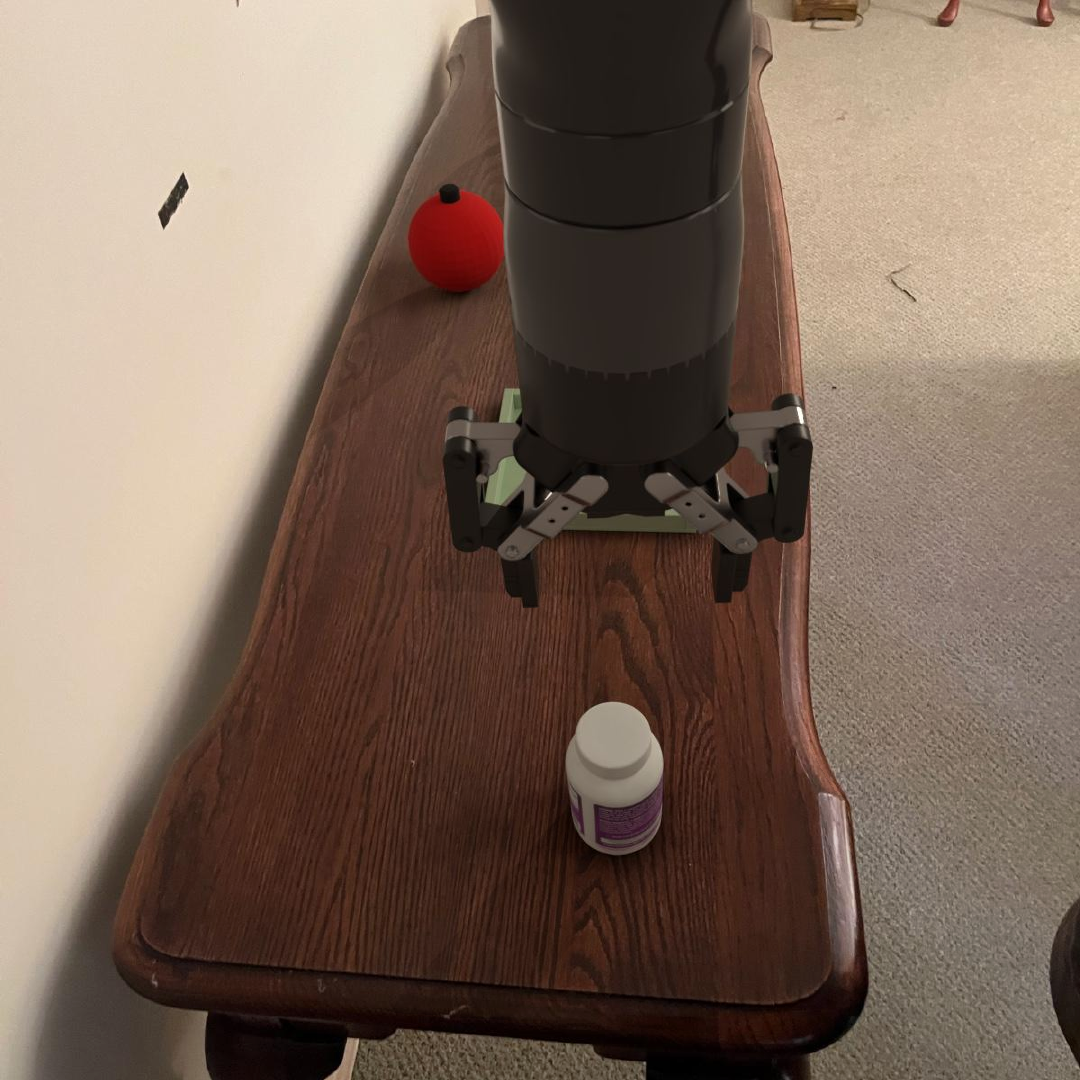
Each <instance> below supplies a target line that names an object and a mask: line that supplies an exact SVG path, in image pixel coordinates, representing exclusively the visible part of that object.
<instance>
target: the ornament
mask: <svg viewBox="0 0 1080 1080" xmlns="http://www.w3.org/2000/svg"><path fill="white" fill-rule="evenodd" d="M501 219H502V218H500V215H499V213H498V212H497V211H496V209H495V208H494V207H493V205H492V204H491V203H489V202H488V201H487V200H486V199H484V198H483V197H482V196H481V195H478V194H476V193H473V192H470V191H468V190H463V189H460V187H459V186H458V185H456V184H454V183H444V184H443V185H442V186H441V187H440V188H439V190H438V193H436V194H433V195H432V196H430V197H429V198H427V199H426V200H425V201H424V202H422V203H421V204H420V206H419V207H418V208H417V210H416V211H415V213H414V214H413V216H412V219H411V221H410V223H409V228H408V232H407V233H408V234H407V243H408V253H409V257H410V259H411V261H412V263H413V265H414V267H415V269H416V270H417V272H418V273H419V274H420V275H421V276H422V278H424V279H425V280H426V281H427V282H429V283H430V284H431V285H433V286H435V287H436V288H438V289H441V290H444V291H449V292H455V293H461V292H462V293H463V292H469V291H472V290H475V289H477V288H479V287H481V286H483V285H484V284H486V283H487V282H489V280H491V279H492V278H493V277H494V275H496V273H497V272H498V270H499V268H500V266H501V264H502V262H503V260H504V245H503V223H504V222H503V221H502V220H501Z"/></svg>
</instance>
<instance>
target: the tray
mask: <svg viewBox="0 0 1080 1080" xmlns="http://www.w3.org/2000/svg"><path fill="white" fill-rule="evenodd" d="M521 411H522V406H521V397H520V388H513V387H512V388H508V387H507V388H506V387H505V388H504V390H503V396H502V402H501V407H500V412H499V414H500V415H499V420H498V423H515V421H516V419H517V418H518V416H519V415H520V413H521ZM525 474H526V471H525V470H524V469H523V468H522V467H521V466H520V465H519V464H518V463H517V461H516V460H515V458H514V456H510V457H506V458H504V459H503V460H501V461H500V463H499V465H498V470H497V471H496V473H494V474H493V475H491V476H488V481H487V486H486V492H485V502H488V503H492V504H497V505H501V504H502V503H503V502H504V501H505V500H506V499H507V498H508V497H509V496H510V495H511V494H512V493H513V491H514V490H515V489H516V488H517V487H518V486H519V485H520V484H521V483H522V481H523V479H524V477H525ZM561 531H602V532H643V533H679V534H681V533H683V534H684V533H686V534H687V533H688V534H696V533H697V530H696V529H695V528H694V527H693V526H692V525H691V524H689V523H688V522H687V521H686V520H685V519H684V518H683V517H681V516H680V515H679V514H678V513H677V512H676V511H675V510H673V509H670V510H666V511H665V516H656V517H644V516H637V515H630V514H623V515H619V516H614V517H609V518H595V519H587V513H582V512H580V513H579V514H578V515H577V516H576V517H575V518H574V519H573V520H572V521H571V522H570V523H569V524H568V525H566V526H565V527H564V528H563V529H562V530H561Z"/></svg>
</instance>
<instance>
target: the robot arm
mask: <svg viewBox="0 0 1080 1080" xmlns="http://www.w3.org/2000/svg"><path fill="white" fill-rule="evenodd" d="M487 3H488V6H489V12H490V26H491V27H490V30H491V31H490V34H491V35H490V36H491V38H490V39H491V61H492V62H491V63H492V74H493V76H492V77H493V87H494V98H495V106H496V115H497V126H498V135H499V143H500V153H501V162H502V164H501V165H502V172H503V187H504V188H503V189H504V205H503V222H502V223H503V245H504V257H503V259H504V265H505V273H506V282H507V283H506V284H507V291H508V292H507V293H508V299H509V307H510V319H511V326H512V327H511V328H512V336H513V344H514V353H515V354H514V355H515V362H516V369H517V379H518V387H519V388H518V389H520V397H521V406H522V411H521V413H520V415H519V416H518V418H517V419H516V421H515V423H499V422H486V421H485V422H479V421H480V420H479V418H480V417H479V414H478V412H477V411H476V410H474V409H473V408H472V407H469V406H464V405H459V406H455V407H452V408H451V409H450V410H449V411H448V414H447V419H446V426H445V427H446V428H445V437H444V445H443V453H442V467H443V475H444V476H443V477H444V483H445V491H446V493H445V494H446V500H447V508H448V516H449V524H450V525H449V526H450V533H451V541H452V542H451V543H452V545H453V548H455V549H456V550H458V551H460V552H462V553H474V552H477V551H479V550H480V549H481V548H482V547H485V548H488V549H492V550H493V551H495V552H496V553H497V555H498V556H499V558H500V561H501V562H500V563H501V570H502V575H503V581H504V588H505V591H506V593H507V594H508V595H509V597H510V598H513V599H514V598H520V599H521V606H522V609H533V608H534V609H536V608H537V609H538V608H539V607H540V606H539V605H540V568H539V566H540V565H539V557H538V547H537V546H538V545H539V543H541V542H542V541H543V539H547V540H553V539H554V538H555V537H556V536H557V535H558V534H559V533H560V532H561V531H563V530H562V529H563V528H564V527H565V526H566V525H568V524H569V523H570V522H571V521H572V520H573V519H574V518H575V517H576V516H577V515H578V514H579V513H580V512H582V513H587V519H595V518H609V517H614V516H619V515H623V514H630V515H637V516H644V517H656V516H665V511H666V510H670V509H673V510H675V511H676V512H677V513H678V514H679V515H680V516H681V517H683V518H684V519H685V520H686V521H687V522H688V523H689V524H691V525H692V526H693V527H694V528H695V529H696V532H698V533H699V534H701V535H703V536H705V535H707V534H710V535H712V536H713V540H712V549H711V561H710V577H711V584H712V593H713V601H714V604H731V603H732V600H733V594H734V593H741V592H742V593H743V591H744V590H745V589H746V587H747V586H748V584H749V580H750V573H751V565H752V564H751V563H752V558H753V552H754V551H755V549H757V548H758V544H759V543H760V542H762V541H764V540H767V539H772V538H774V539H775V540H776V541H778V542H779V543H782V544H791V543H795V542H797V541H799V540H800V539H802V538H803V537H804V534H805V528H806V518H807V511H808V510H807V509H808V500H809V491H810V481H811V473H812V472H811V471H812V464H813V463H812V462H813V453H814V452H813V451H814V444H813V440H812V435H811V430H810V426H809V421H808V416H807V412H806V409H805V405H804V404H805V403H804V400H803V398H802V397H801V396H800V395H799V394H797V393H792V392H791V393H788V392H787V393H782V394H781V395H778V396H777V397H775V398H774V399H773V400H772V402H771V405H770V410H765V411H764V410H763V411H754V412H753V411H752V412H742V413H740V412H739V413H735V412H734V410H733V409H732V407H731V406H730V405H729V404H730V403H729V402H730V391H731V381H732V380H731V379H732V371H733V370H732V369H733V361H734V360H733V359H734V351H735V350H734V349H735V341H736V340H735V339H736V331H737V330H736V329H737V320H738V310H739V301H740V299H739V298H740V289H741V278H742V267H743V259H744V258H743V257H744V247H745V246H744V245H745V209H744V198H743V197H744V196H743V167H744V166H743V159H744V151H745V141H746V140H745V139H746V128H747V117H748V108H749V107H748V106H749V95H750V83H751V72H752V66H753V65H752V63H753V39H754V38H753V37H754V35H753V34H754V33H753V32H754V30H753V28H754V27H753V25H754V23H753V21H754V19H753V15H754V14H753V0H487ZM740 448H741V449H745V450H747V451H750V452H751V453H752V455H753V459H754V461H755V463H757V465H759V466H762V467H765V471H766V487H765V492H764V493H760V494H756V495H753V496H752V495H751V496H750V495H749V494H748V493H747V492H746V491H745V490H744V489H743V488H742V487H741V486H740V485H739V484H737V482H735V480H734V479H733V478H731V477H730V476H729V475H728V473H727V472H726V469H725V466H726V465H727V464H728V463H729V462H730V461H731V460H732V459H733V458H734V457H735V456H736V453H737V452H738V449H740ZM510 456H514V458H515V460H516V461H517V463H518V464H519V465H520V466H521V467H522V468H523V469H524V470H525V471H526V474H525V477H524V479H523V481H522V483H521V484H520V485H519V486H518V487H517V488H516V489H515V490H514V491H513V493H512V494H511V495H510V496H509V497H508V498H507V499H506V500H505V501H504V502H503V503H502V504H501V505H497V504H492V503H488V502H485V497H486V493H485V484H486V483H488V480H489V476H491V475H493V474H494V473H496V471H497V470H498V465H499V463H500V461H501V460H503V459H504V458H506V457H510Z"/></svg>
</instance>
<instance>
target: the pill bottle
mask: <svg viewBox="0 0 1080 1080" xmlns="http://www.w3.org/2000/svg"><path fill="white" fill-rule="evenodd" d="M565 771H566V772H565V773H566V779H567V780H566V781H567V786H568V794H569V800H570V809H571V810H570V811H571V816H572V821H573V824H574V828H575V829H576V832H577V833H578V835H579V836H580V838H581V839H582V841H584V842H585V843H586V844H587V845H588V846H590V847H591V848H592V849H594V850H596V851H597V852H600V853H603V854H607V855H612V856H622V855H628V854H629V855H630V854H632V853H634V852H637V851H639V850H641V849H643V848H644V847H646V846H647V845H648V844H649V843H650V842H651V841H652V840H653V839H654V837H655V836H656V834H657V832H658V830H659V828H660V826H661V821H662V816H663V815H662V814H663V790H664V789H663V786H664V785H663V784H664V756H663V751H662V747H661V745H660V742H659V741H658V739H657V737H656V736H655V735H654V734H653V732H652V731H651V728H650V724H649V722H648V719H646V717H645V716H644V714H643V713H642V712H641V711H640V710H638V709H637V708H636V707H634V706H632V705H630V704H628V703H624V702H620V701H607V702H602V703H599V704H596V705H593V706H592V707H591V708H589V709H588V710H587V711H585V712H584V713H583V715H582V716H581V717H580V719H579V720H578V722H577V724H576V727H575V734H574V735H573V736H572V738H571V739H570V742H569V744H568V747H567V749H566V755H565Z"/></svg>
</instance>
